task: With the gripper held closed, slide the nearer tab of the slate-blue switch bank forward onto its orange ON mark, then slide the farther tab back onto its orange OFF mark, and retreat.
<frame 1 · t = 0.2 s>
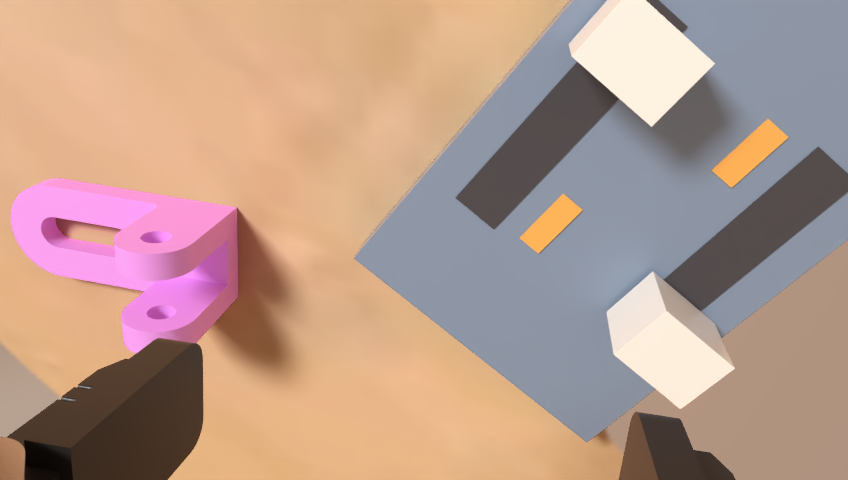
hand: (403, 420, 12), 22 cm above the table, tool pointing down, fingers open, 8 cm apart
bracket: (133, 232, 38), on the table
switch bank: (639, 177, 31), on the table
tab 2: (635, 53, 25), point 4 cm above the table, slide at 0.0 cm
tab 1: (666, 338, 30), point 4 cm above the table, slide at 8.0 cm
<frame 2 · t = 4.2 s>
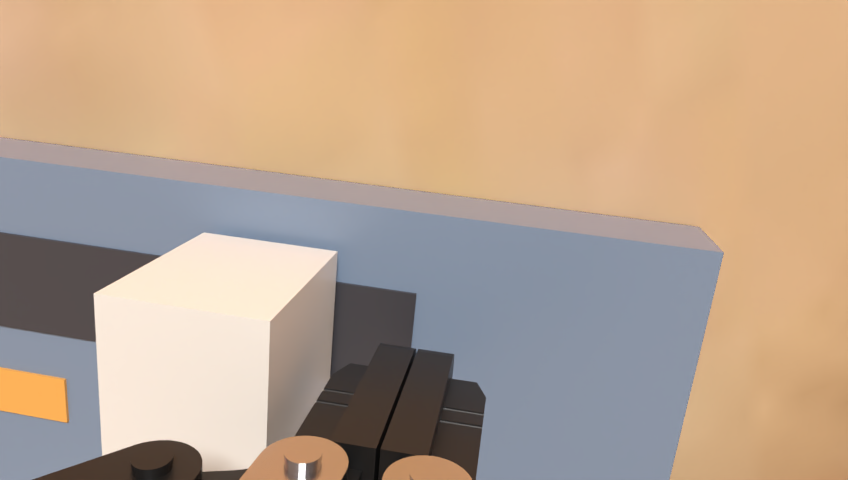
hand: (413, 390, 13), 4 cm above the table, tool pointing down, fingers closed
switch bank: (200, 441, 19), on the table
tab 2: (230, 365, 13), point 4 cm above the table, slide at 1.2 cm, touching gripper
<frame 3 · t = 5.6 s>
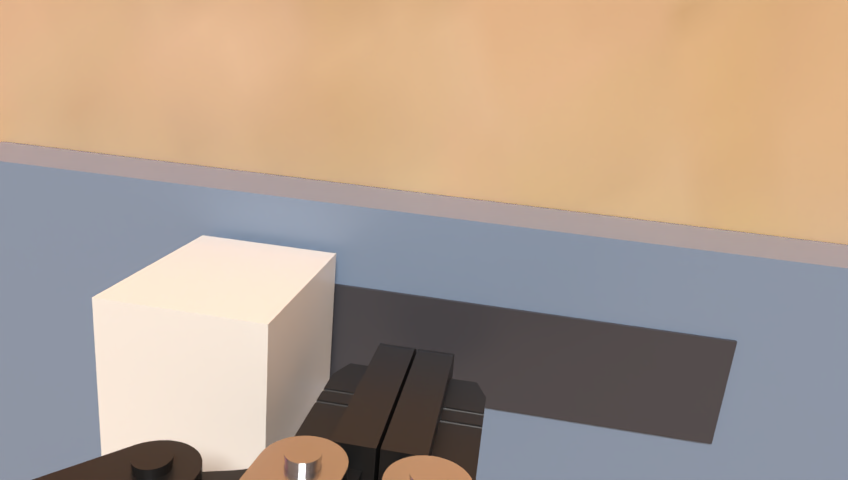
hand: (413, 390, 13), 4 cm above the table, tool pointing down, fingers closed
tab 2: (229, 368, 13), point 4 cm above the table, slide at 7.9 cm, touching gripper
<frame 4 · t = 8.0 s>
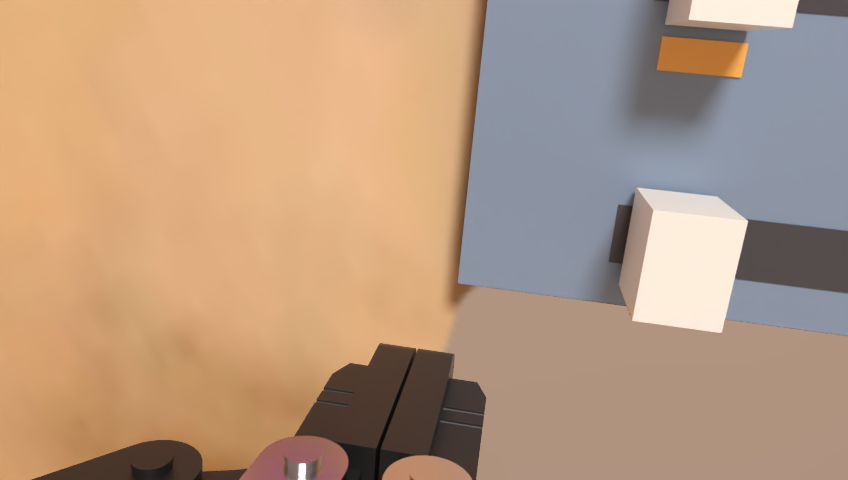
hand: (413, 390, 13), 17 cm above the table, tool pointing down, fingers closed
switch bank: (783, 117, 26), on the table
tab 1: (676, 256, 24), point 4 cm above the table, slide at 8.0 cm
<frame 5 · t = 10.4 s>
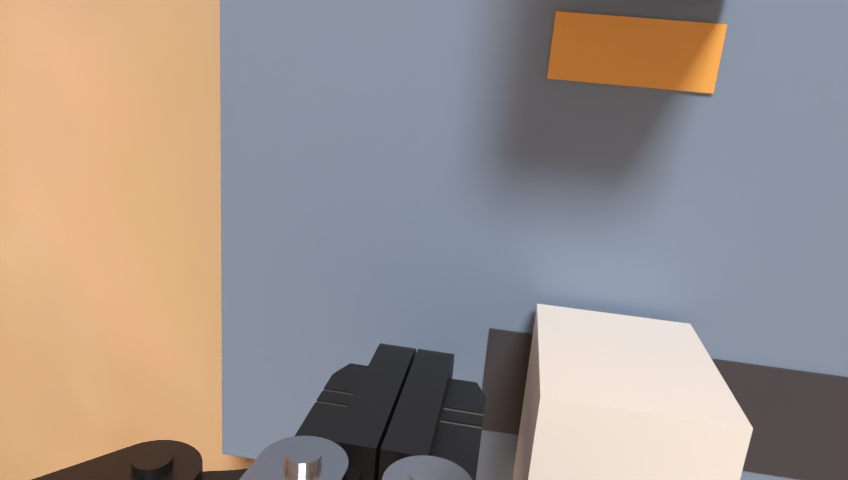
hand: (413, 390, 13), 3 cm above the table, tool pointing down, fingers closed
switch bank: (795, 165, 14), on the table
tab 1: (607, 455, 12), point 4 cm above the table, slide at 7.6 cm, touching gripper
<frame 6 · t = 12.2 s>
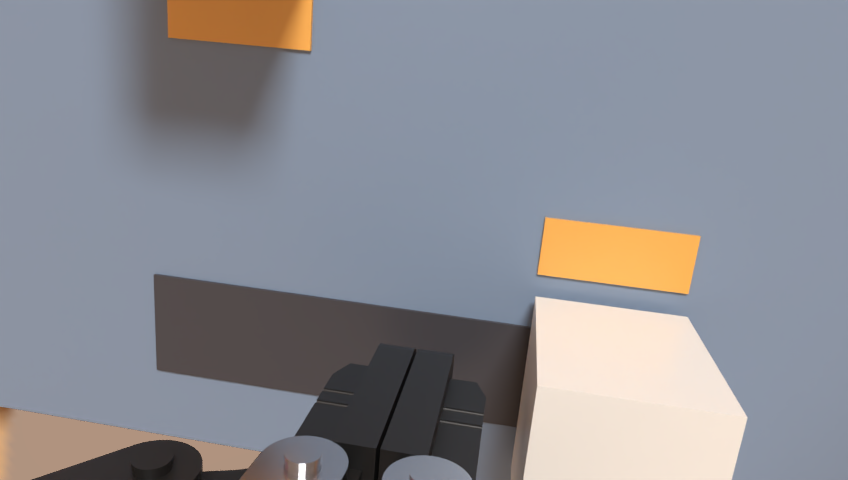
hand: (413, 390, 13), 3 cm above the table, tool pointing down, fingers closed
switch bank: (442, 124, 15), on the table
tab 1: (604, 446, 12), point 4 cm above the table, slide at 0.0 cm, touching gripper
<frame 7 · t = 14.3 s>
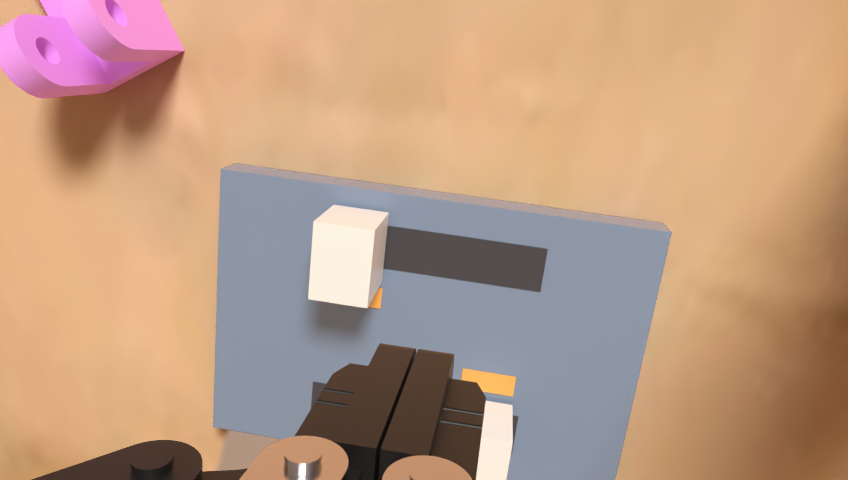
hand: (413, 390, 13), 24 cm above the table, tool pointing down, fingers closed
switch bank: (426, 324, 39), on the table
tab 2: (349, 254, 34), point 4 cm above the table, slide at 8.0 cm
tab 1: (479, 450, 36), point 4 cm above the table, slide at 0.0 cm
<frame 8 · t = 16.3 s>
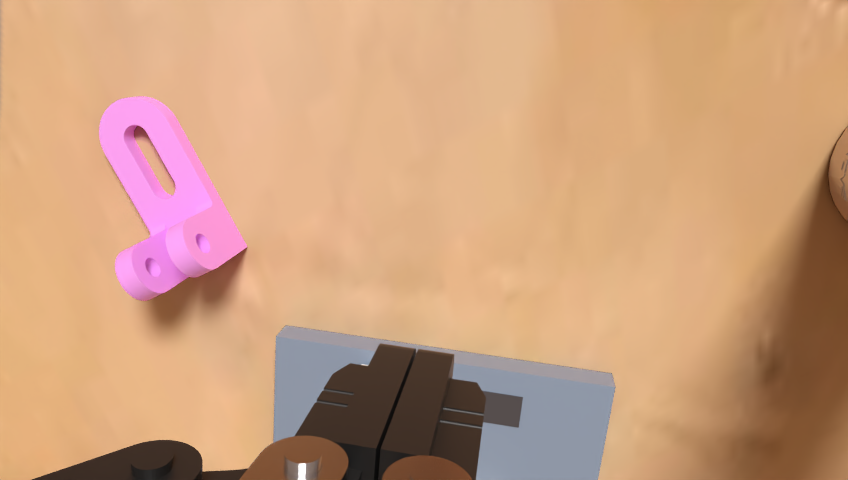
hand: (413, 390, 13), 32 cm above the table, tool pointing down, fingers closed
bracket: (174, 181, 48), on the table
switch bank: (433, 443, 50), on the table
tab 2: (374, 405, 45), point 4 cm above the table, slide at 8.0 cm
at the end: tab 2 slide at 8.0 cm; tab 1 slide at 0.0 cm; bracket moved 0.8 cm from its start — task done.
